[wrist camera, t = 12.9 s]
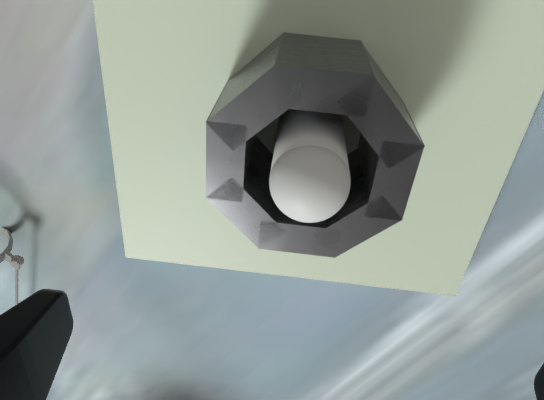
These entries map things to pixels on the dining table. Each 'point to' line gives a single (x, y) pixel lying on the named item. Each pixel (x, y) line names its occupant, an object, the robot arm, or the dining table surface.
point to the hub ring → (318, 98)
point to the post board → (415, 55)
